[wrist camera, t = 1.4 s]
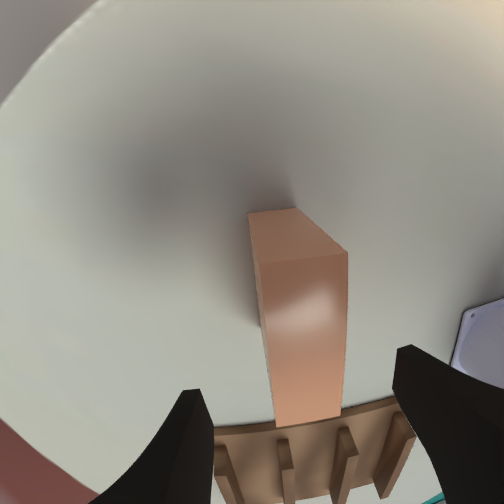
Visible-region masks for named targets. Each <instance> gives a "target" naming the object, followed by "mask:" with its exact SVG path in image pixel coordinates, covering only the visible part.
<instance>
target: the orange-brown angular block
mask: <svg viewBox="0 0 504 504" xmlns="http://www.w3.org/2000/svg"><path fill="white" fill-rule="evenodd" d="M247 215H248V224H249V232H250V241H251V249H252V258H253V267H254V275H255V284H256V292H257V301H258V309H259V318H260V326H261V333H262V340H263V346H264V352H265V358H266V365H267V371H268V377H269V384H270V390H271V396H272V402H273V409H274V415H275V421H276V427H282V426H289V425H295V424H301V423H307V422H312V421H317V420H323V419H328V418H332V417H337V416H340V413H341V404H342V393H343V382H344V369H345V354H346V335H347V307H348V252H347V251H345V250H344V249H343V248H342V247H341V246H340V245H339V244H338V243H337V242H335V241H334V240H333V239H332V238H331V237H330V236H329V235H328V234H326V233H325V232H324V231H323V230H322V229H321V228H320V227H318V226H317V225H316V224H315V223H314V222H313V221H312V220H310V219H309V218H308V217H307V216H306V215H305V214H303V213H302V212H301V211H300V210H299V209H298V208H289V209H280V210H271V211H262V212H254V213H247Z"/></svg>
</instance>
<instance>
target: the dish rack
mask: <svg viewBox="0 0 504 504" xmlns="http://www.w3.org/2000/svg"><path fill="white" fill-rule="evenodd" d="M416 437H417V436H416V434H415V433H414V431H413V429H412V427H411V426H410V424H409V422H408V420H407V419H406V416H405V415H404V413H403V411H402V410H401V408H400V405H399V403H398V401H397V399H396V396H393V397H390V398H386V399H383V400H379V401H376V402H372V403H368V404H364V405H360V406H356V407H352V408H348V409H343V410H341V413H340V416H337V417H332V418H328V419H323V420H317V421H312V422H307V423H301V424H295V425H289V426H282V427H276V422H270V423H262V424H253V425H244V426H233V427H219V428H214V445H215V450H214V463H213V464H214V478H215V480H216V482H217V484H218V487H219V489H220V491H221V493H222V495H223V497H224V500H225V502H226V504H275V503H283V502H284V504H295V501H296V500H302V499H308V498H314V497H319V496H324V495H328V494H330V496H331V499H332V503H333V504H346V501H347V497H348V494H349V491H350V489H353V488H357V487H360V486H364V485H368V484H371V483H374V484H375V487H376V490H377V492H378V495H379V497H380V499H384V498H387V497H388V496H389V494H390V493H391V491H392V489H393V487H394V485H395V483H396V481H397V479H398V477H399V475H400V473H401V471H402V469H403V467H404V464H405V462H406V460H407V458H408V456H409V453H410V451H411V449H412V446H413V444H414V442H415V439H416Z"/></svg>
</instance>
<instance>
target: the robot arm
mask: <svg viewBox="0 0 504 504" xmlns="http://www.w3.org/2000/svg"><path fill="white" fill-rule="evenodd" d="M467 374H468V375H467ZM392 389H393V391H394V394H395V396H396V399H397V401H398V403H399V405H400V408H401V410H402V411H403V413H404V415H405V416H406V418H407V420H408V421H409V423H410V425H411V426H412V428H413V430H414V431H415V433H416V435H417V436H418V438H419V440H420V441H421V443H422V445H423V446H424V448H425V450H426V452H427V454H428V456H429V457H430V460H431V462H432V465H433V467H434V469H435V472H436V474H437V477H438V480H439V483H440V485H441V488H442V491H443V494H444V498H445V501H446V504H504V298H503V299H500V300H497V301H494V302H491V303H488V304H485V305H482V306H479V307H476V308H473V309H470V310H467V311H466V312H465V313H464V315H463V318H462V323H461V327H460V332H459V336H458V340H457V344H456V348H455V352H454V355H453V359H452V362H451V366H449V365H448V364H446V363H444V362H442V361H440V360H439V359H437V358H435V357H433V356H432V355H430V354H428V353H426V352H425V351H423V350H421V349H419V348H417V347H415V346H414V345H412V344H410V345H407V346H404V347H401V348H398V349H397V355H396V363H395V371H394V378H393V385H392ZM214 450H215V445H214V425H213V422H212V420H211V417H210V415H209V412H208V409H207V407H206V404H205V402H204V399H203V396H202V394H201V391H200V389H192V390H183V391H182V392H181V394H180V396H179V397H178V399H177V401H176V403H175V404H174V406H173V408H172V410H171V411H170V413H169V415H168V416H167V418H166V420H165V421H164V423H163V424H162V426H161V427H160V429H159V430H158V432H157V433H156V435H155V436H154V438H153V439H152V441H151V442H150V443H149V445H148V446H147V447H146V449H145V450H144V451H143V453H142V454H141V455H140V456H139V458H138V459H137V460H136V461H135V462H134V463H133V465H132V466H131V467H130V468H129V469H128V470H127V471H126V472H125V473H124V474H123V475H122V476H121V477H120V478H119V479H118V480H117V481H116V482H115V483H114V484H113V485H111V486H110V487H109V488H108V489H107V490H106V491H104V492H103V493H102V494H100V495H99V496H98V497H96V498H95V499H94V500H92V501H91V502H90V503H88V504H210V500H211V486H212V475H213V463H214Z"/></svg>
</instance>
